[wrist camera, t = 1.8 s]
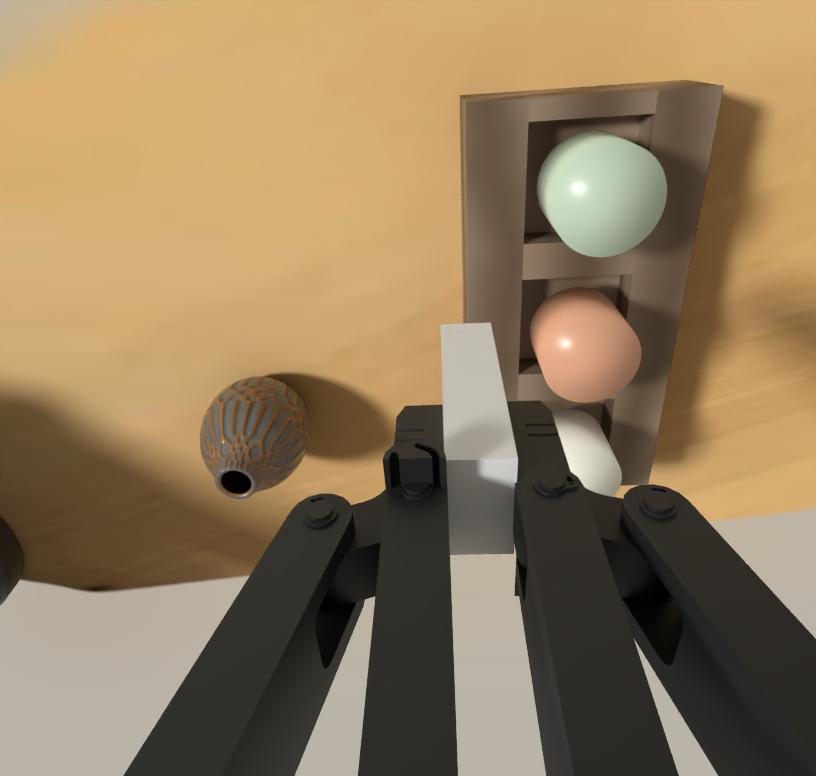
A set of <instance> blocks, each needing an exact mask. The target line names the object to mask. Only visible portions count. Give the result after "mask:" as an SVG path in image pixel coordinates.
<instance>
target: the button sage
mask: <svg viewBox="0 0 816 776" xmlns="http://www.w3.org/2000/svg"><path fill="white" fill-rule="evenodd" d="M537 198H538V202H539V206H540V208H541V210H542V212H543V214H544V215H545V217H546V218H547V219H548V221H549V222H550V224H551V225H552V226H553V228H554V229H555V231H556V232H557V233H558V235H559V236H560V237H561V239H562V240H563V241H564V242H565V243H566V244H567V245H568V246H569V247H570V248H571V249H573V250H575V251H576V252H578V253H581V254H583V255H586V256H591V257H610V256H614V255H618V254H621V253H623V252H626V251H628V250H630V249H632V248H633V247H635V246H636V245H638V244H639V243H640V242H642V241H643V240H644V239H645V238H646V237H647V236H648V235H649V234H650V233H651V231H652V230H653V229H654V228H655V226H656V225H657V223H658V221H659V220H660V217H661V215H662V213H663V210H664V207H665V203H666V199H667V182H666V177H665V174H664V171H663V168H662V167H661V165H660V163H659V162H658V160H657V159H656V158H655V157H654V156H653V155H652V154H651V153H650V152H649V151H647V150H646V149H644V148H642V147H640V146H638V145H636V144H634V143H632V142H630V141H628V140H626V139H624V138H622V137H619V136H617V135H615V134H613V133H611V132H608V131H604V130H585V131H581V132H578V133H575V134H573V135H571V136H569V137H567V138H565V139H564V140H563V141H561V142H560V143H559V144H557V145H556V146H555V147H554V148H553V149H552V151H551V152H550V153H549V154H548V156H547V157H546V159H545V160H544V162H543V164H542V166H541V169H540V172H539V175H538V179H537Z"/></svg>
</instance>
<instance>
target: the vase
mask: <svg viewBox="0 0 816 776" xmlns="http://www.w3.org/2000/svg"><path fill="white" fill-rule="evenodd" d="M309 435H310V422H309V416H308V412H307V409H306V407H305V405H304V403H303V401H302V399H301V398H300V396H299V395H298V394H297V393H296V392H295V391H294V390H293V389H292V388H291V387H289V386H288V385H286V384H285V383H283V382H281V381H279V380H276V379H273V378H268V377H250V378H246V379H242V380H240V381H237V382H235V383H233V384H232V385H230V386H228V387H227V388H226V389H224V390H223V391H222V392H221V393H220V394H219V395H218V396H217V397H216V398H215V399H214V401H213V402H212V403H211V405H210V407H209V408H208V410H207V412H206V414H205V416H204V419H203V422H202V426H201V432H200V449H201V454H202V457H203V460H204V462H205V464H206V466H207V468H208V469H209V471H210V472H211V474H212V475H213V476H214V477H215V482H216V485H217V487H218V489H219V490H220V491H221V492H222V493H223V494H225V495H226V496H229V497H231V498H236V499H242V498H246V497H249V496H251V495H252V494H253V493H255V492H258V491H262V490H266V489H269V488H272V487H274V486H276V485H278V484H280V483H281V482H283V481H284V480H285V479H286V478H288V477H289V476H290V475H291V474H292V473H293V471H294V470H295V469H296V468H297V467H298V465H299V464H300V462H301V460H302V459H303V457H304V455H305V452H306V449H307V446H308V441H309Z"/></svg>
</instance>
